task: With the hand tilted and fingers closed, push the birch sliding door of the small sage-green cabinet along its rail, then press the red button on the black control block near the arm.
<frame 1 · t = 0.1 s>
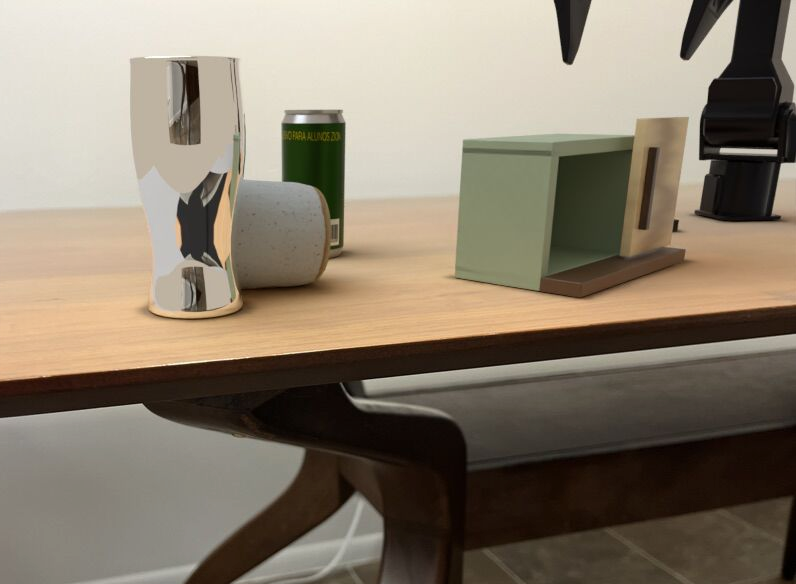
hand: (622, 61, 63), 15 cm above the table, tool pointing down, fingers open, 9 cm apart
ceramic mug: (257, 285, 60), on the table, touching beer glass
beer can: (313, 256, 71), on the table
beer glass: (196, 310, 53), on the table, touching ceramic mug
button: (617, 194, 84), point 3 cm above the table, slide at 0.1 cm
door: (658, 185, 63), point 6 cm above the table, slide at 0.0 cm
control block: (613, 228, 85), on the table
cabinet: (542, 270, 64), on the table
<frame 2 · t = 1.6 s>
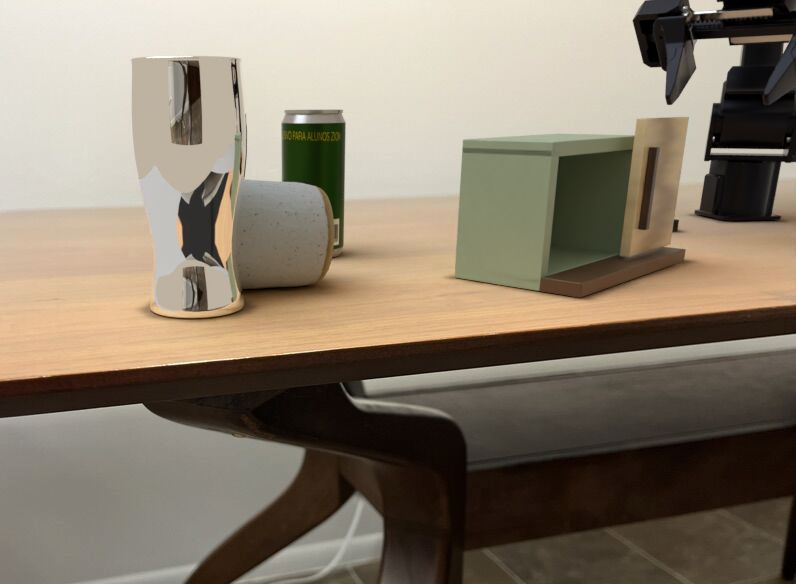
hand: (715, 101, 68), 12 cm above the table, tool tilted 45°, fingers open, 7 cm apart
nothing on the table moved.
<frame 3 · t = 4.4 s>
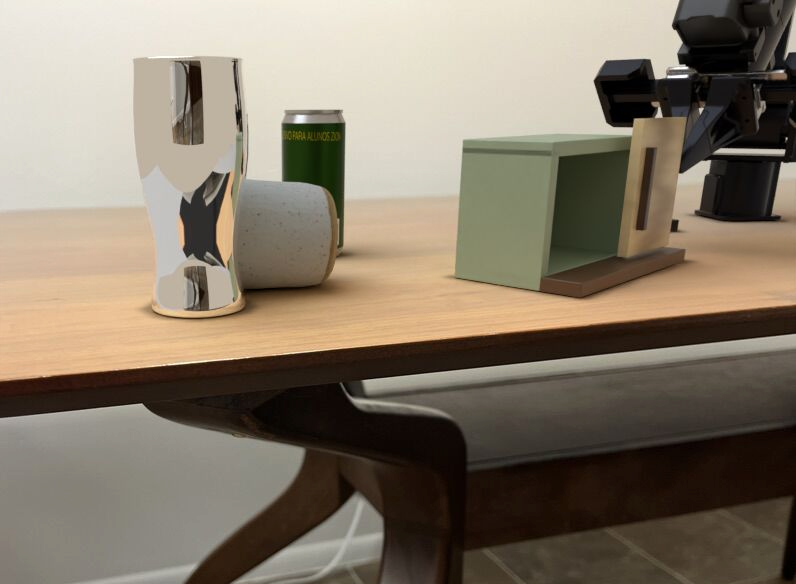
hand: (675, 169, 65), 7 cm above the table, tool tilted 45°, fingers closed, pressing on door
ceramic mug: (265, 286, 60), on the table, touching beer glass
door: (656, 186, 62), point 6 cm above the table, slide at 0.5 cm, touching gripper
everything else where it was.
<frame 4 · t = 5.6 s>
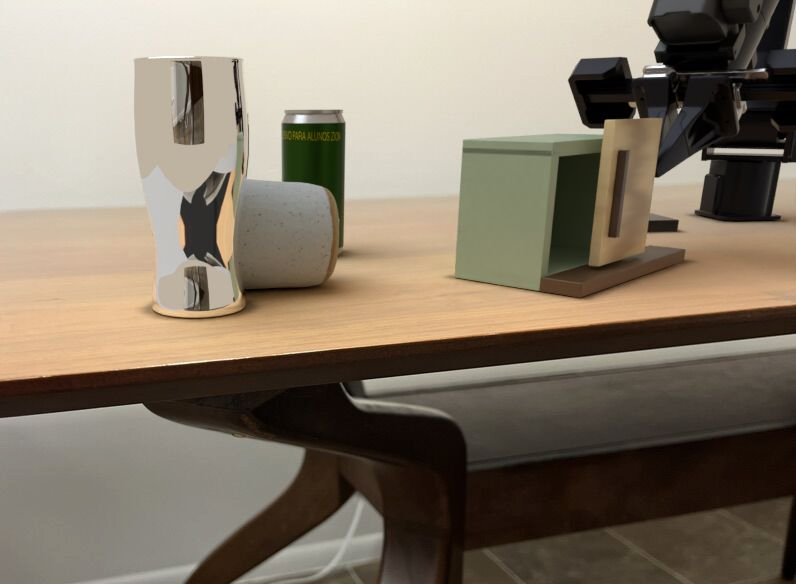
hand: (651, 173, 62), 7 cm above the table, tool tilted 45°, fingers closed
door: (630, 191, 59), point 6 cm above the table, slide at 5.2 cm
everything else where it was.
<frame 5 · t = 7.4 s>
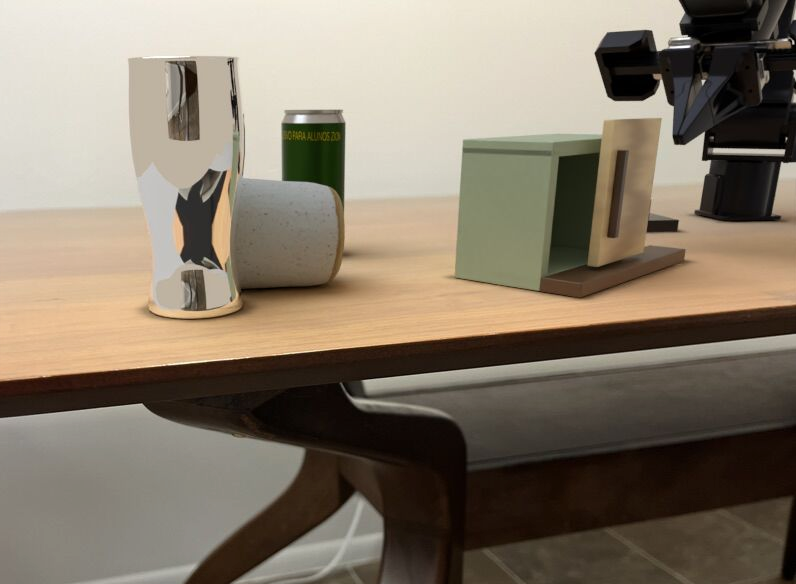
hand: (678, 141, 64), 9 cm above the table, tool tilted 45°, fingers closed
ceramic mug: (272, 285, 60), on the table
beer glass: (196, 309, 53), on the table
everything else where it was.
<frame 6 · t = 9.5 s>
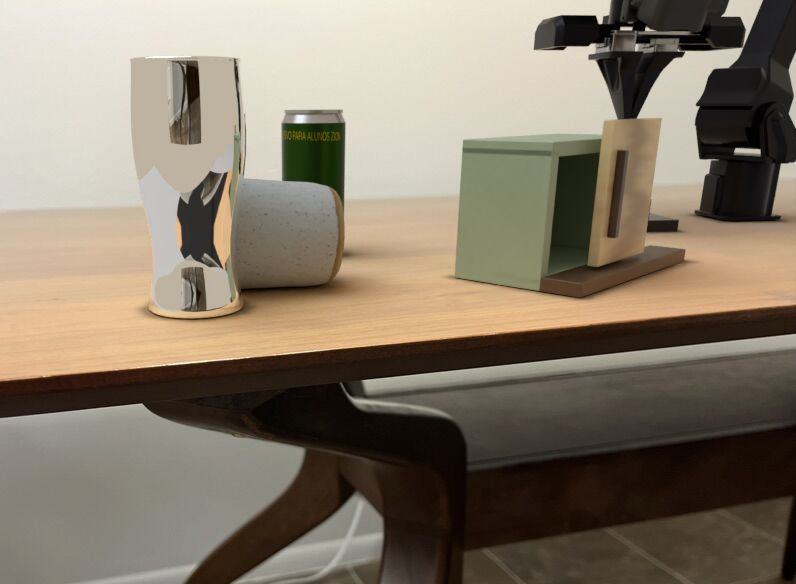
hand: (626, 127, 81), 10 cm above the table, tool pointing down, fingers closed
nothing on the table moved.
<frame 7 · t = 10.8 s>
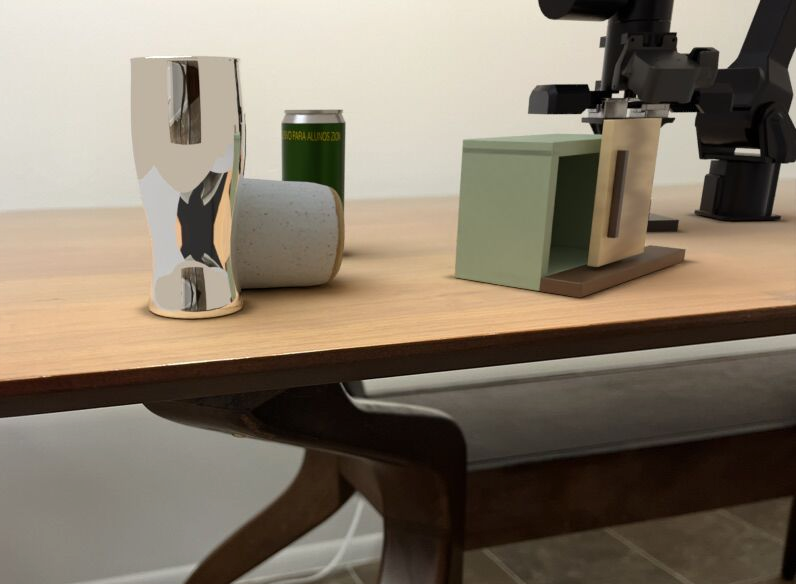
hand: (618, 188, 84), 4 cm above the table, tool pointing down, fingers closed, pressing on button
button: (617, 197, 84), point 3 cm above the table, slide at -0.2 cm, touching gripper
everything else where it was.
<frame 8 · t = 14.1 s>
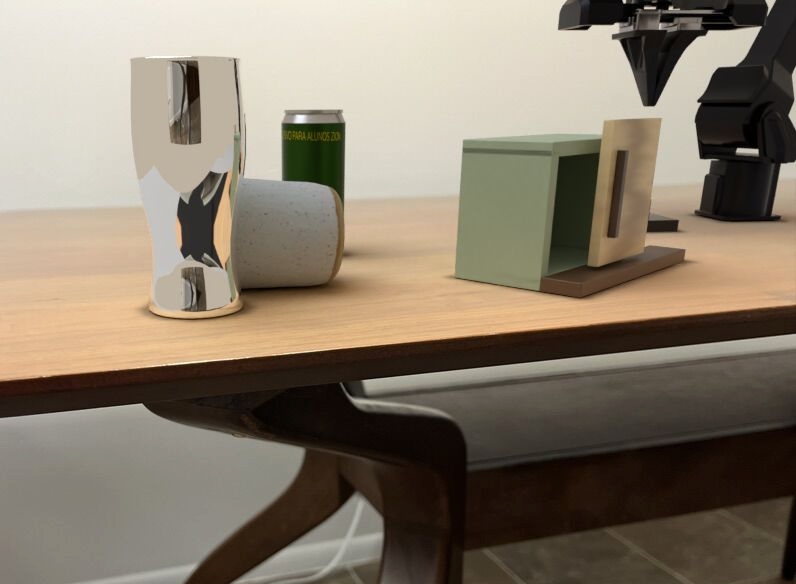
hand: (649, 106, 83), 12 cm above the table, tool pointing down, fingers closed
button: (617, 194, 84), point 3 cm above the table, slide at 0.1 cm
everything else where it was.
at the end: door slide at 5.4 cm; button pushed in 1.2 cm at the most during the clip, back to where it started at the end; button slide at 0.1 cm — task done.
